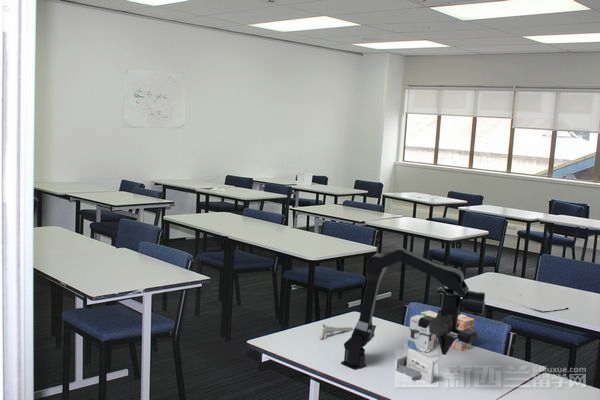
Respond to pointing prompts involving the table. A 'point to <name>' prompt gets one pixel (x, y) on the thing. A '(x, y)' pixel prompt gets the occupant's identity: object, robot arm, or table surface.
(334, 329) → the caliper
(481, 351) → the table surface
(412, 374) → the bracket
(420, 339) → the ink box
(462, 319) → the stack of blocks
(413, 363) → the cassette
